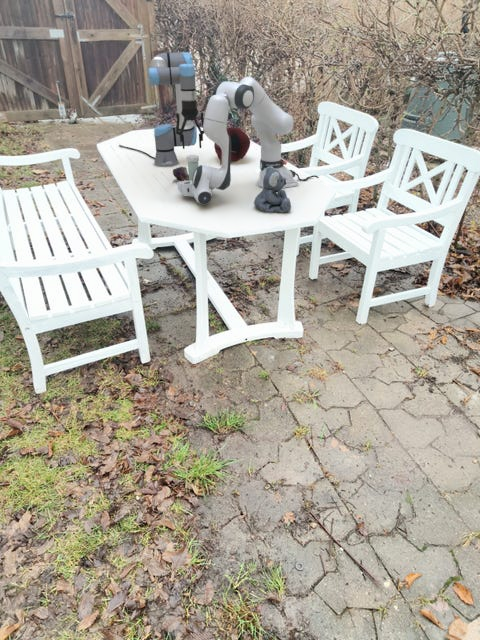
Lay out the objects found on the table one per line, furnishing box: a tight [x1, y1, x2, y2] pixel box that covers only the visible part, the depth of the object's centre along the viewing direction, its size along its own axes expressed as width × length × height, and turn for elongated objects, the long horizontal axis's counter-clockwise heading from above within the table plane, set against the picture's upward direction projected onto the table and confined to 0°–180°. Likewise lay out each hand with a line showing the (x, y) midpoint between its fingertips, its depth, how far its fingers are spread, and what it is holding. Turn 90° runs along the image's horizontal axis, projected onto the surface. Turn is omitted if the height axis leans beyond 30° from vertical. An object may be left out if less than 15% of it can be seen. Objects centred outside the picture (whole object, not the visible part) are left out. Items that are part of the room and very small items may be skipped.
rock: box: [172, 166, 189, 182], centre depth 261 cm, size 12×9×10 cm
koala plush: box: [253, 166, 292, 213], centre depth 221 cm, size 17×18×20 cm
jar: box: [187, 161, 199, 181], centre depth 243 cm, size 6×6×19 cm
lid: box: [186, 154, 200, 163], centre depth 238 cm, size 6×6×2 cm
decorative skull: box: [213, 126, 251, 166], centre depth 295 cm, size 21×24×25 cm
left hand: (192, 147), depth 235 cm, fingers open, 8 cm apart
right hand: (194, 180), depth 245 cm, fingers open, 8 cm apart
